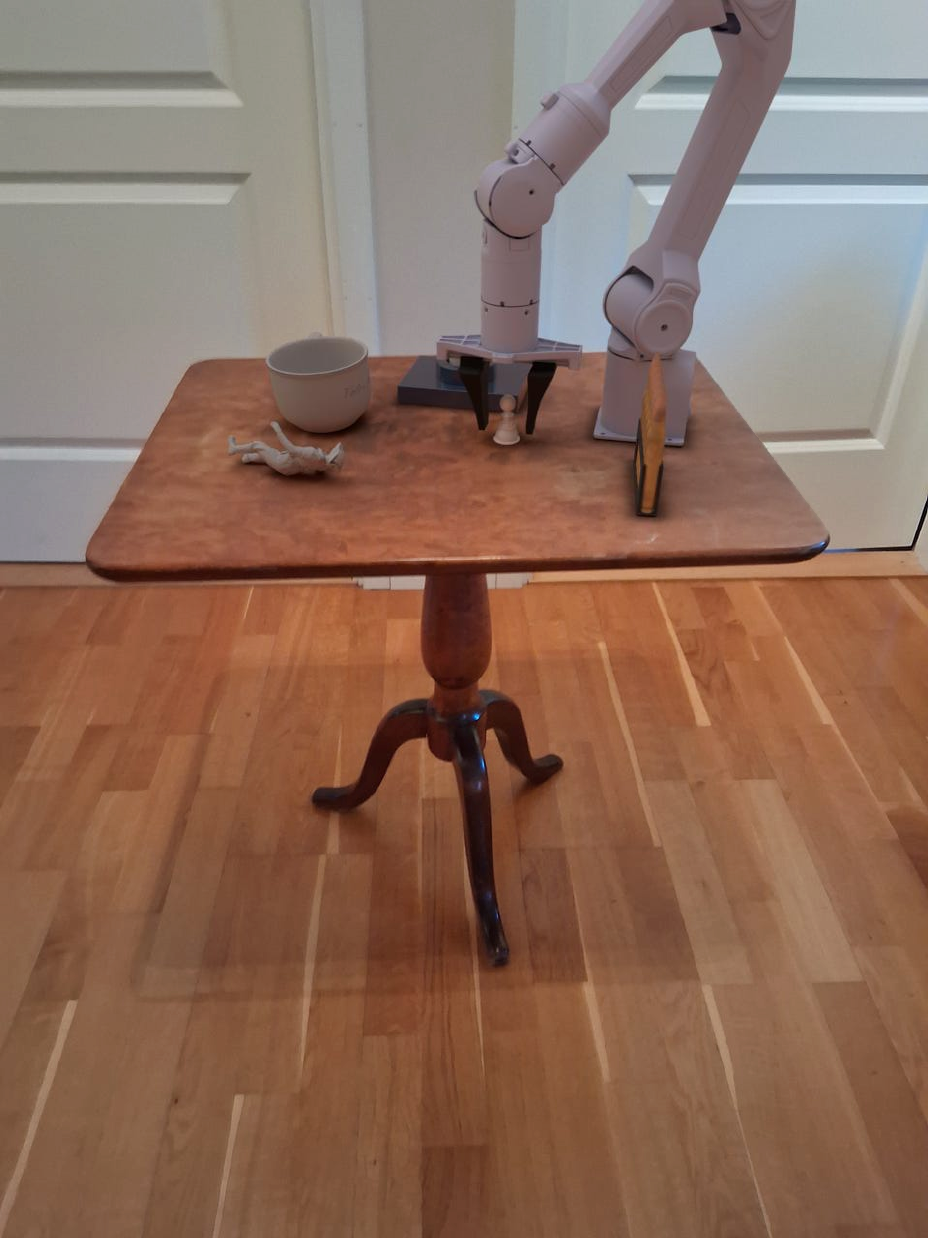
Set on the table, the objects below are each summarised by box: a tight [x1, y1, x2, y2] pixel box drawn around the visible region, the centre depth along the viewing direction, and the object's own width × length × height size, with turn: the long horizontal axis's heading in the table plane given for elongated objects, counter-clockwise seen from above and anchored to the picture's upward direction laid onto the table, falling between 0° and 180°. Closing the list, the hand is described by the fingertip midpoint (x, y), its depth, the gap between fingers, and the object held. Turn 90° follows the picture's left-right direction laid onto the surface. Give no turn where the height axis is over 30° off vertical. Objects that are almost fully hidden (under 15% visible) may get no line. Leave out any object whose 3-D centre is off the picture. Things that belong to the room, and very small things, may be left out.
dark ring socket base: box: [396, 355, 532, 415], centre depth 105 cm, size 14×10×4 cm
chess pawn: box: [492, 395, 521, 446], centre depth 94 cm, size 3×3×5 cm
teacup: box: [265, 331, 372, 434], centre depth 98 cm, size 14×11×8 cm
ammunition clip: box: [632, 352, 667, 517], centre depth 83 cm, size 11×2×12 cm, turn 173°
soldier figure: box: [227, 420, 346, 476], centre depth 89 cm, size 8×5×12 cm
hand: (506, 428), depth 95 cm, fingers open, 4 cm apart
